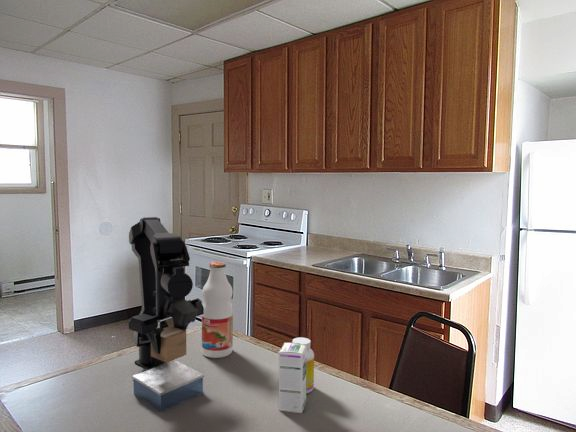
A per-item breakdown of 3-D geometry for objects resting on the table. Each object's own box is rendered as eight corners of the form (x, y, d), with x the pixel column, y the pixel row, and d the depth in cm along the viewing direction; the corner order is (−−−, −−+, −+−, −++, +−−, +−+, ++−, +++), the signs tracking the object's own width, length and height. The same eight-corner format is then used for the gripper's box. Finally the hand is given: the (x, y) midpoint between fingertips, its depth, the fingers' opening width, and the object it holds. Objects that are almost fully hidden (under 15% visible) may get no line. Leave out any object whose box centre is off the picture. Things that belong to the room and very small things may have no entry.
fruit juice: (239, 351, 132) (239, 262, 129) (216, 361, 124) (216, 267, 122) (218, 343, 138) (218, 258, 135) (195, 352, 130) (195, 263, 128)
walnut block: (151, 356, 105) (150, 332, 104) (170, 348, 109) (170, 325, 109) (166, 362, 101) (166, 338, 101) (186, 354, 106) (186, 331, 105)
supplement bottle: (317, 386, 111) (318, 338, 110) (307, 397, 105) (308, 347, 104) (294, 380, 114) (295, 334, 113) (283, 391, 108) (284, 342, 107)
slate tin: (132, 395, 106) (132, 375, 105) (175, 377, 115) (175, 360, 114) (160, 413, 97) (160, 393, 97) (203, 393, 107) (203, 374, 106)
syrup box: (302, 414, 98) (303, 353, 97) (277, 410, 99) (278, 350, 98) (306, 401, 103) (307, 343, 102) (282, 398, 105) (283, 341, 103)
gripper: (157, 302, 91) (158, 372, 93) (219, 285, 107) (218, 345, 108) (126, 293, 98) (127, 358, 99) (188, 278, 113) (189, 335, 115)
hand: (168, 349), depth 105 cm, fingers closed on walnut block, 6 cm apart
